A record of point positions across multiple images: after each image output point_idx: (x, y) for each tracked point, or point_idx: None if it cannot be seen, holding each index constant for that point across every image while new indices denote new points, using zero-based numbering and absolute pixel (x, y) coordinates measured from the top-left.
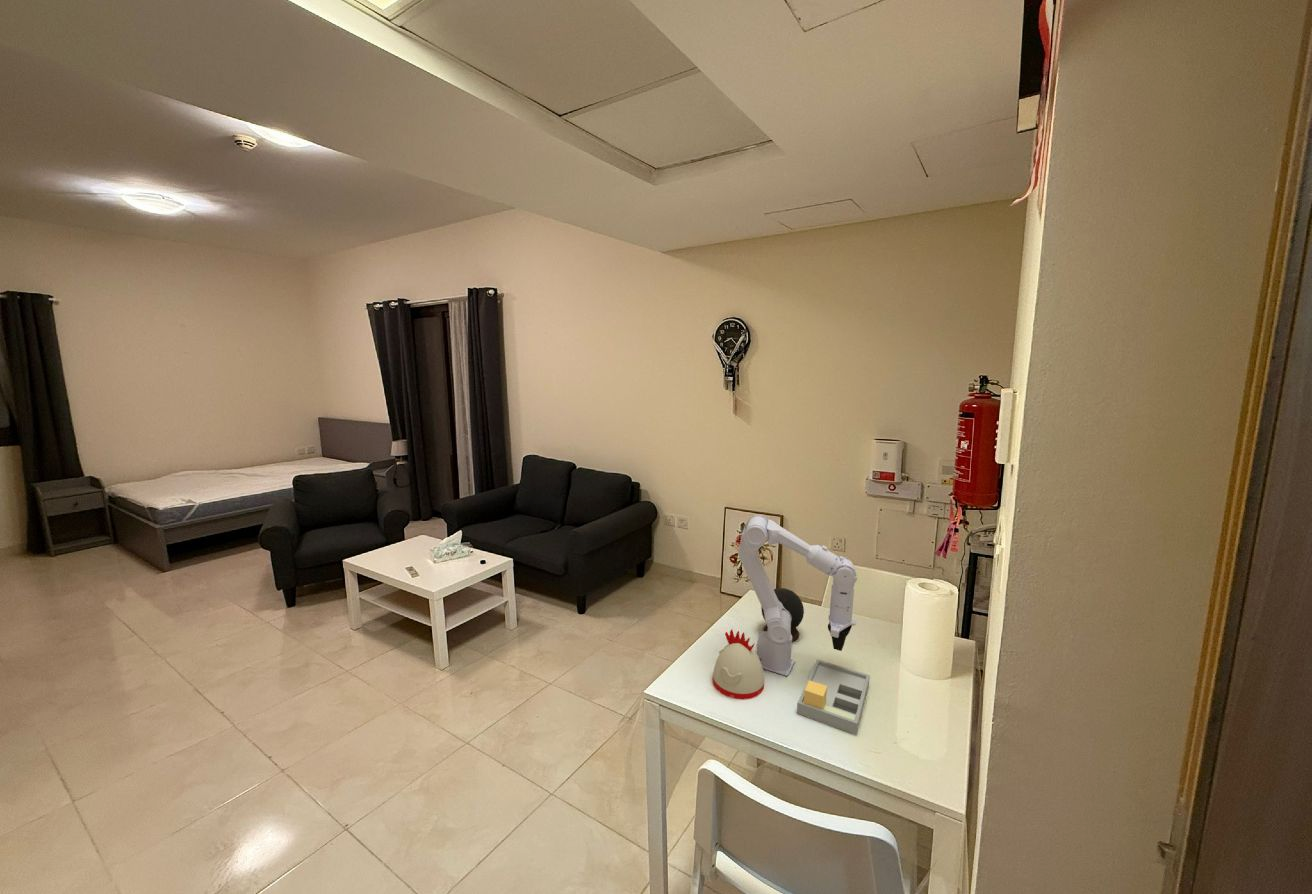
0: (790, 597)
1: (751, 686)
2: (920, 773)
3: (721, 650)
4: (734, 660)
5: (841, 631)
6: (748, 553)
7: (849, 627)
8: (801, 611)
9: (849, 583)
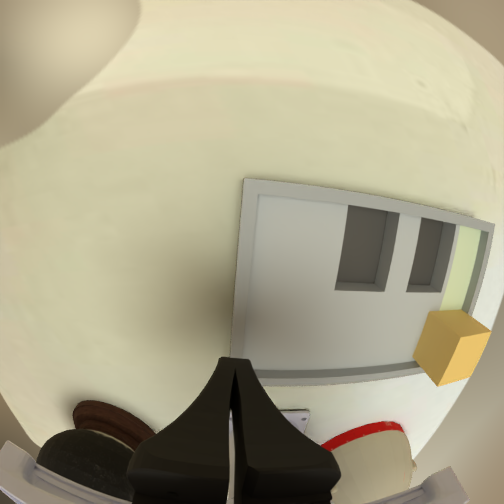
0: None
1: (407, 442)
2: (498, 102)
3: None
4: None
5: (329, 493)
6: None
7: (227, 485)
8: (79, 473)
9: None
